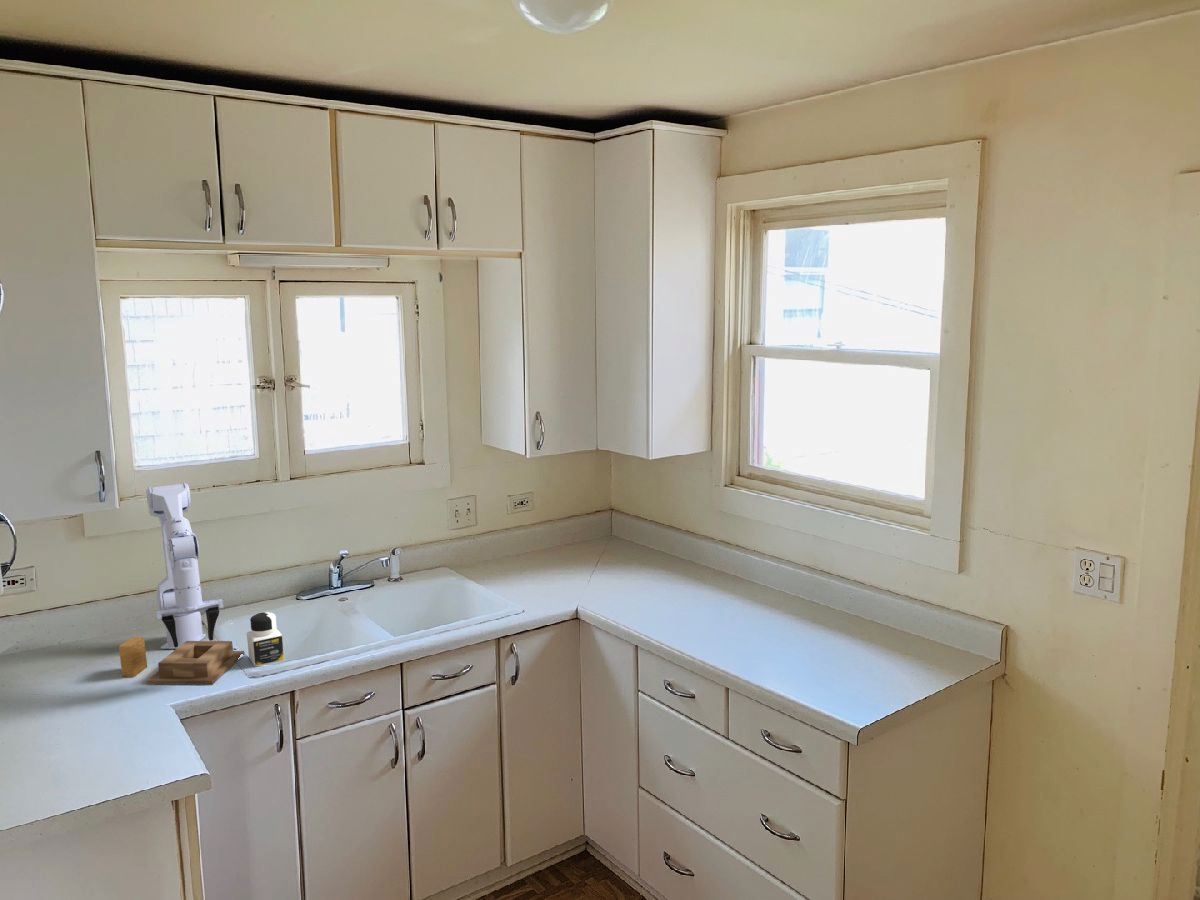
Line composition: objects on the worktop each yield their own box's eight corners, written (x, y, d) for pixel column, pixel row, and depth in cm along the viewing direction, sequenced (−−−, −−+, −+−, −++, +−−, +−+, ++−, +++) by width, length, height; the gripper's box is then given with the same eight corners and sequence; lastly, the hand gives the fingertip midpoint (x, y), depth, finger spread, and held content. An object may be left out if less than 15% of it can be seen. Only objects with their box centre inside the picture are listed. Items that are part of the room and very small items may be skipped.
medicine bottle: (255, 667, 228) (251, 622, 226) (248, 658, 234) (244, 613, 232) (284, 660, 232) (280, 616, 230) (277, 651, 238) (273, 607, 236)
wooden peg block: (135, 667, 230) (132, 636, 228) (147, 667, 229) (144, 637, 228) (122, 677, 224) (118, 646, 222) (134, 677, 223) (130, 646, 222)
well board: (184, 654, 237) (182, 637, 236) (244, 654, 236) (243, 638, 235) (147, 684, 219) (145, 666, 218) (212, 684, 219) (210, 666, 218)
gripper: (155, 594, 209) (162, 653, 210) (222, 583, 217) (228, 639, 217) (152, 590, 215) (158, 647, 216) (217, 579, 223) (223, 634, 223)
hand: (193, 643), depth 217 cm, fingers open, 7 cm apart
